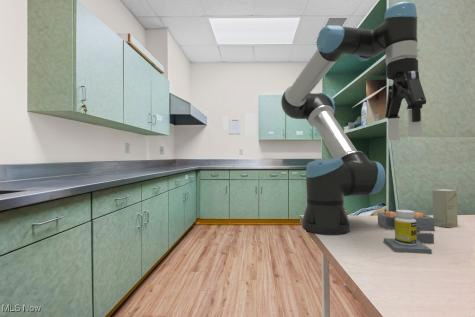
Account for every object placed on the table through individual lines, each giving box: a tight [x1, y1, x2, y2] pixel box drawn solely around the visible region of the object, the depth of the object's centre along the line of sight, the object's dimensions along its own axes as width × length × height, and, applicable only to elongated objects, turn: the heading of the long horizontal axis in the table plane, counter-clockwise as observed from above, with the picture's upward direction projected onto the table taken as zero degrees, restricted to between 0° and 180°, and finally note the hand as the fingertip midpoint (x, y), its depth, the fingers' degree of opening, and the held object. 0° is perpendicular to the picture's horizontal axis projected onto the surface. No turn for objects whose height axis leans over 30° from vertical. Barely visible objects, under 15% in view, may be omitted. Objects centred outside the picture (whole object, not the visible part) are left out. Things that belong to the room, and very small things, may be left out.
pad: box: [383, 237, 433, 255], centre depth 66 cm, size 8×8×1 cm
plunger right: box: [414, 211, 424, 217], centre depth 85 cm, size 3×3×4 cm
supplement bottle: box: [394, 209, 417, 246], centre depth 66 cm, size 5×5×8 cm
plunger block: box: [377, 211, 436, 232], centre depth 86 cm, size 14×8×4 cm, turn 78°
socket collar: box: [416, 226, 435, 245], centre depth 74 cm, size 9×5×2 cm, turn 168°
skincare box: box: [431, 188, 459, 228], centre depth 87 cm, size 6×4×12 cm
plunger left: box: [385, 210, 396, 216], centre depth 87 cm, size 3×3×4 cm
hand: (403, 138), depth 71 cm, fingers open, 13 cm apart
